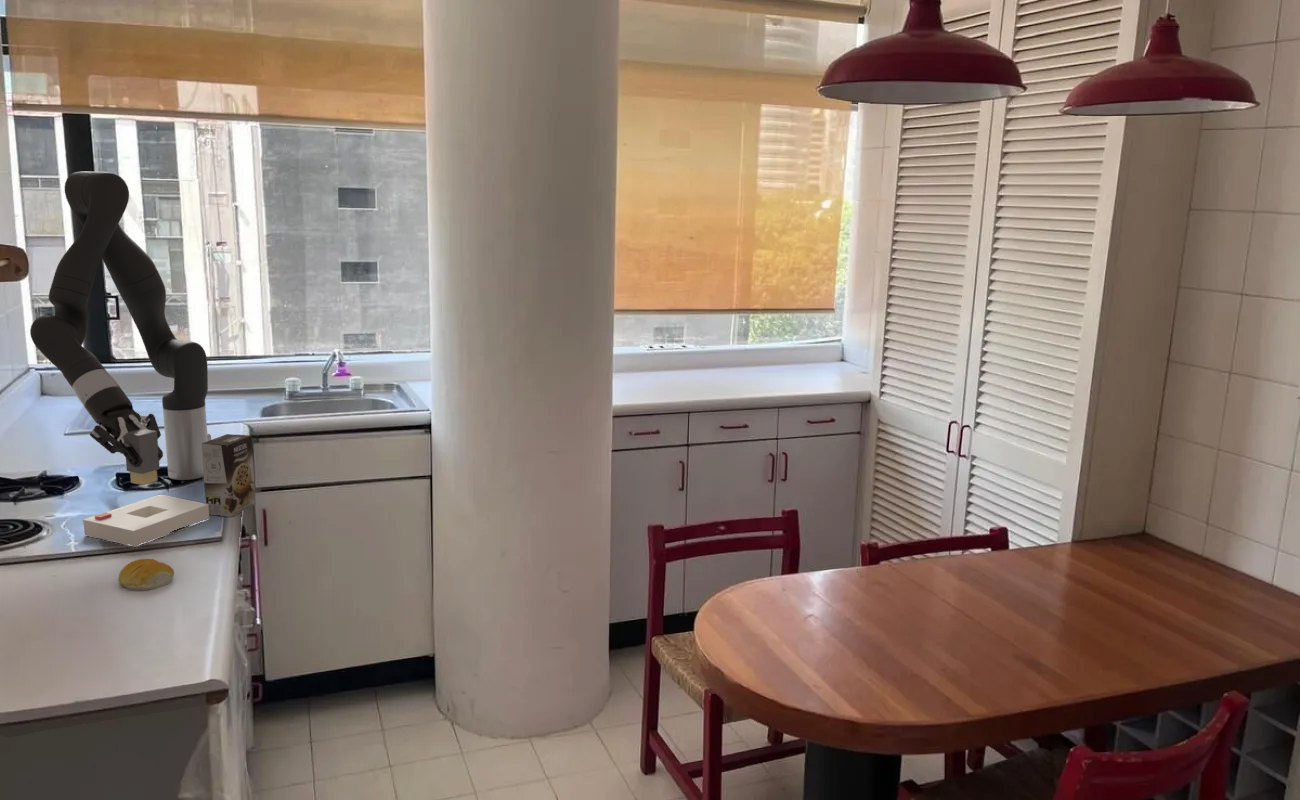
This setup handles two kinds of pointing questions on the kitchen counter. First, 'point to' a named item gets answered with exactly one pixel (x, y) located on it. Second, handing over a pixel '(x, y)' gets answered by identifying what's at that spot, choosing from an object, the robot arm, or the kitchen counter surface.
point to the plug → (144, 456)
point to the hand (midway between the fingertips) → (149, 461)
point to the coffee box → (228, 474)
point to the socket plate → (145, 519)
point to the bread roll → (145, 575)
